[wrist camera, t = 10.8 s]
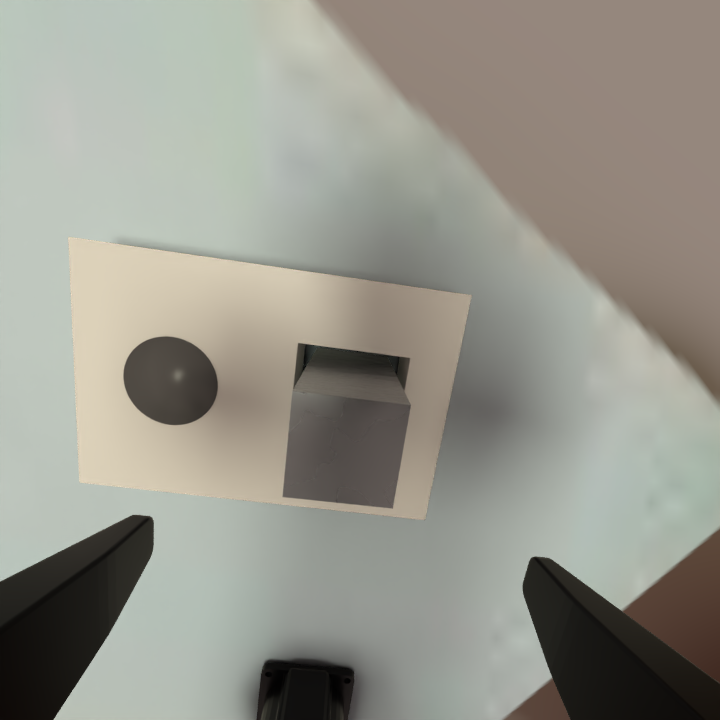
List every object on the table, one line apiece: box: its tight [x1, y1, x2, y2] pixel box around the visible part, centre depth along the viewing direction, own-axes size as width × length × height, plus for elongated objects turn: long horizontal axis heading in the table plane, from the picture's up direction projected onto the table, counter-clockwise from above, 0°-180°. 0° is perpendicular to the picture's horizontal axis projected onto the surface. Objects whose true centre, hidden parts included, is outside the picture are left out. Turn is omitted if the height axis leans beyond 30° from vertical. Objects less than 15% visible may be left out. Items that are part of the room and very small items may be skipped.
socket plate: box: [68, 237, 472, 520], centre depth 18 cm, size 12×18×3 cm, turn 82°
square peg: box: [282, 347, 411, 509], centre depth 16 cm, size 4×4×8 cm
